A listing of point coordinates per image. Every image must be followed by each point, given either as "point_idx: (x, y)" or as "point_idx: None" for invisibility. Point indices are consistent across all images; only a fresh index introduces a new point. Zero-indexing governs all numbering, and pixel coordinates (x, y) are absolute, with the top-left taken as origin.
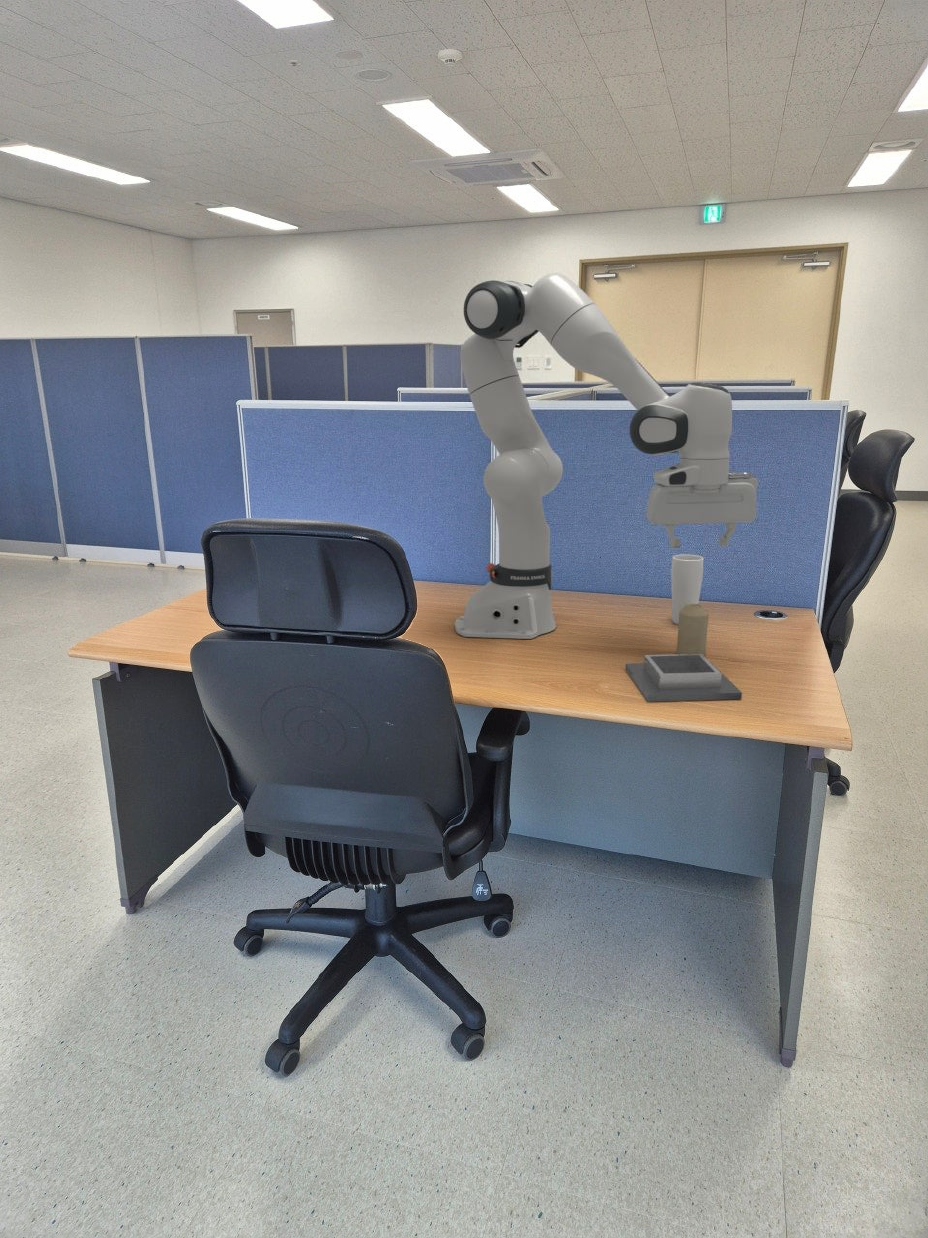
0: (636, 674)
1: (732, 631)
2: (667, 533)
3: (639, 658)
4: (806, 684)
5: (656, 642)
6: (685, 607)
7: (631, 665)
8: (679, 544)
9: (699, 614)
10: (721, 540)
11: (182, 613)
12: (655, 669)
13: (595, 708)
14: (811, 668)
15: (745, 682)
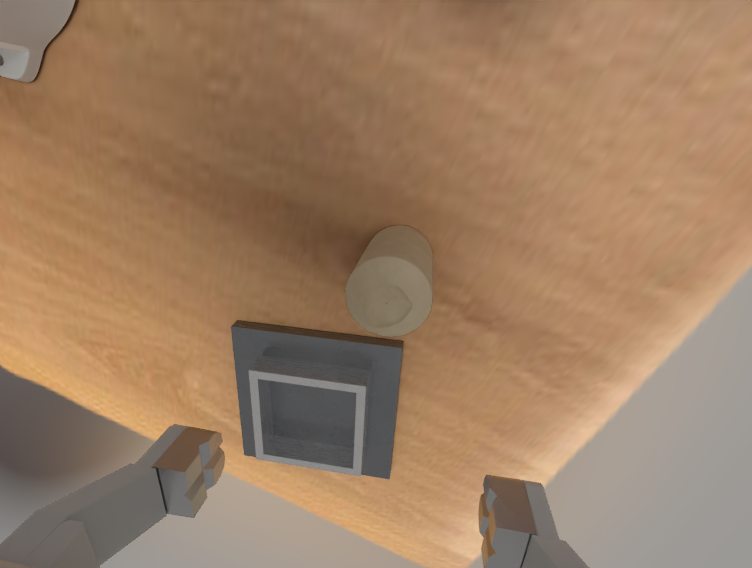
0: (241, 380)
1: (622, 75)
2: (90, 486)
3: (276, 265)
4: (537, 446)
5: (345, 155)
6: (359, 299)
7: (239, 339)
8: (209, 485)
9: (389, 335)
10: (482, 545)
11: None
12: (254, 435)
13: None
14: (612, 386)
15: (433, 417)
